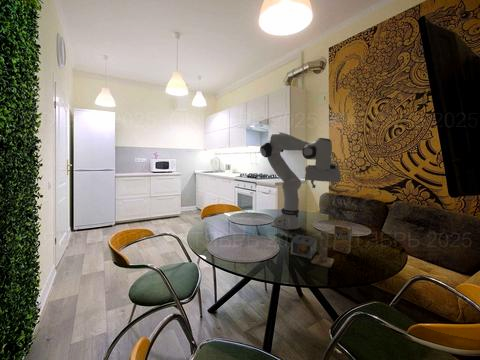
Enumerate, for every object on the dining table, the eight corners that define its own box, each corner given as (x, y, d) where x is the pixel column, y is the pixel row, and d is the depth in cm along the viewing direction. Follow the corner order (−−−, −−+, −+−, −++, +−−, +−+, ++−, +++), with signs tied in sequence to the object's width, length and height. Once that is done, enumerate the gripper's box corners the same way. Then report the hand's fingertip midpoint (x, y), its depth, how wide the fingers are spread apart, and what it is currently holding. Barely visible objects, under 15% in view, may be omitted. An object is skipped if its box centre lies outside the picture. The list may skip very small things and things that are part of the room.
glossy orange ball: (299, 250, 135) (299, 245, 135) (301, 247, 139) (301, 242, 139) (306, 252, 133) (306, 247, 133) (308, 249, 137) (308, 244, 137)
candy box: (332, 250, 140) (334, 225, 138) (335, 247, 143) (336, 224, 141) (348, 254, 134) (350, 228, 132) (350, 252, 138) (352, 227, 136)
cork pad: (311, 262, 123) (311, 261, 123) (315, 255, 132) (315, 254, 132) (330, 267, 118) (330, 266, 118) (334, 260, 127) (334, 259, 127)
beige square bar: (319, 260, 125) (320, 232, 123) (320, 258, 127) (321, 230, 125) (325, 262, 123) (326, 233, 121) (326, 260, 126) (327, 231, 124)
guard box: (290, 253, 134) (291, 240, 133) (296, 246, 145) (297, 234, 144) (311, 258, 128) (312, 245, 127) (316, 250, 138) (317, 238, 137)
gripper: (304, 165, 140) (303, 187, 142) (340, 166, 129) (339, 190, 131) (306, 164, 145) (305, 186, 147) (342, 166, 135) (340, 189, 137)
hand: (321, 188), depth 139 cm, fingers open, 8 cm apart
